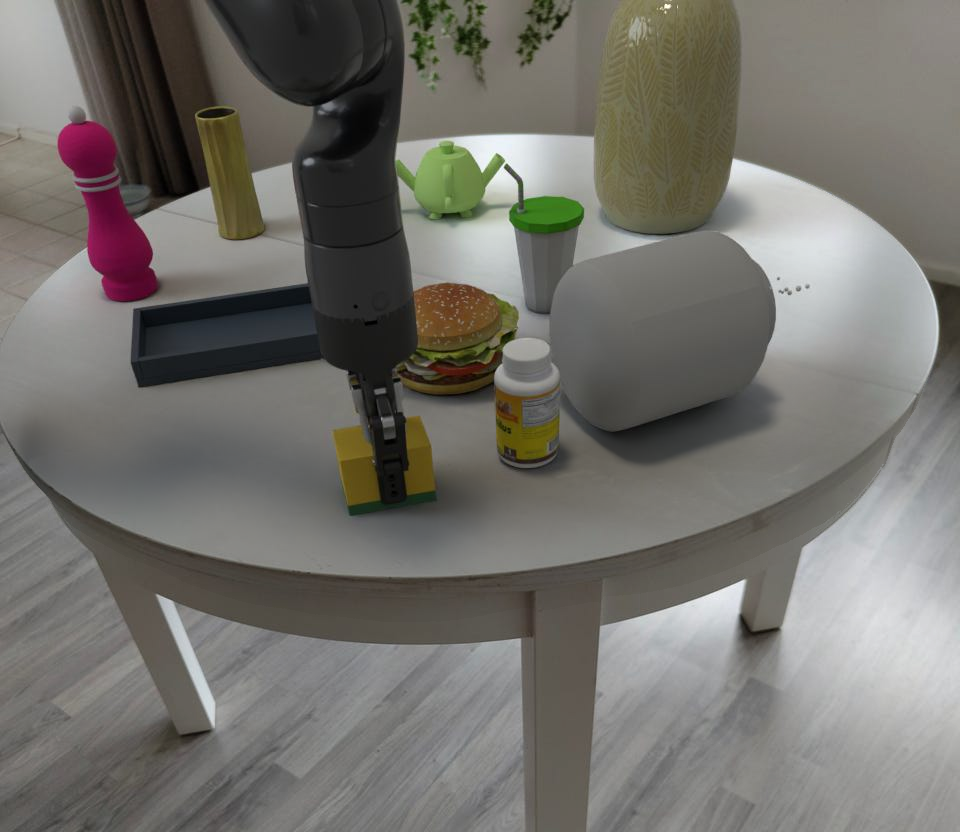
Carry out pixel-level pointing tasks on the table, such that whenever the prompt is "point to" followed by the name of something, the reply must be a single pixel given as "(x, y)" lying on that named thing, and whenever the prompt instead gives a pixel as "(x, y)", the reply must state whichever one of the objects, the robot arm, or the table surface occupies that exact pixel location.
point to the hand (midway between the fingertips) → (388, 482)
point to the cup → (544, 242)
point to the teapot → (449, 180)
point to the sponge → (363, 478)
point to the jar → (660, 328)
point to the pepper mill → (106, 210)
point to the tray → (223, 334)
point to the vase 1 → (229, 173)
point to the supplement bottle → (527, 404)
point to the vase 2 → (667, 112)
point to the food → (457, 339)
